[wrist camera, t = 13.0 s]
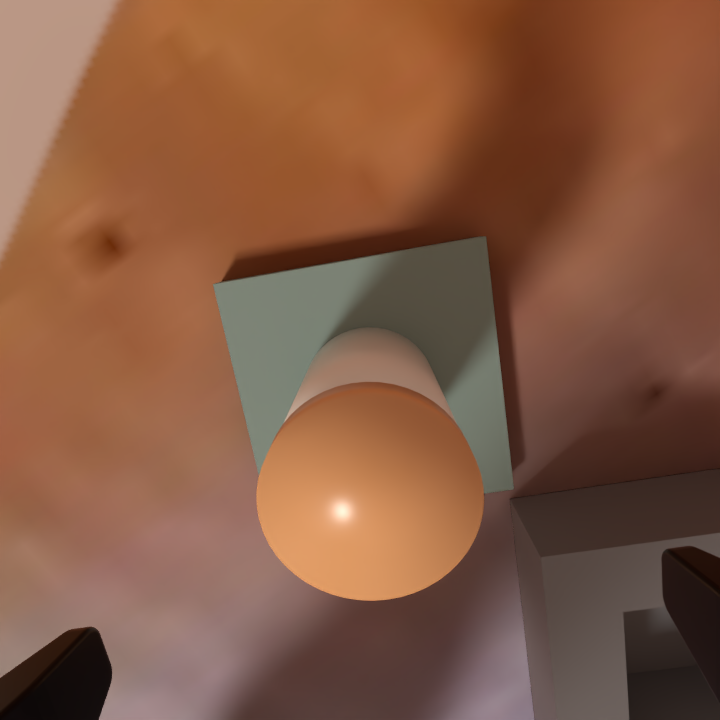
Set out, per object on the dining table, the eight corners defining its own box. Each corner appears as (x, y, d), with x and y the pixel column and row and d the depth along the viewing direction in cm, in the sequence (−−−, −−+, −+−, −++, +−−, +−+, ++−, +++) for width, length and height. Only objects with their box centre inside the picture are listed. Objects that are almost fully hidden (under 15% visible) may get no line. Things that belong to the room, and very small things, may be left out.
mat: (275, 511, 22) (270, 524, 21) (220, 281, 19) (213, 284, 18) (507, 477, 21) (514, 489, 20) (480, 236, 19) (486, 236, 18)
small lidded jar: (317, 461, 20) (282, 613, 12) (291, 338, 19) (233, 415, 11) (444, 442, 20) (495, 585, 12) (426, 315, 19) (469, 377, 11)
